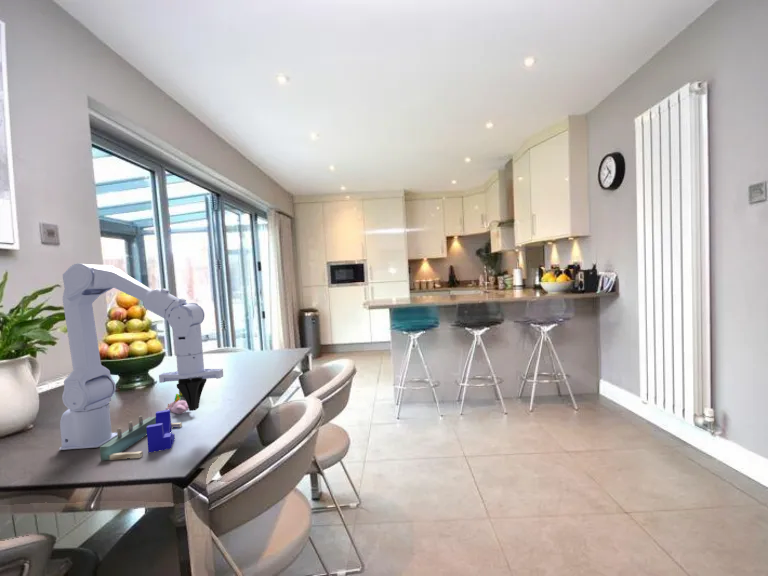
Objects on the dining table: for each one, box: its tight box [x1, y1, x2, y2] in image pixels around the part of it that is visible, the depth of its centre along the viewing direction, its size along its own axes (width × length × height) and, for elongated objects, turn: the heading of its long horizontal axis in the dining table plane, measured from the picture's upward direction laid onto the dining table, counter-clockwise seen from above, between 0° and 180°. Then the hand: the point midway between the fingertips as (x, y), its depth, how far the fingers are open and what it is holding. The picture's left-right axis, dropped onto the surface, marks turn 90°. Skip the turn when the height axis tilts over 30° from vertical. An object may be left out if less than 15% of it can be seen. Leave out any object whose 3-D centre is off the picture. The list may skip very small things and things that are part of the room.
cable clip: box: [146, 409, 176, 454], centre depth 92 cm, size 12×4×6 cm, turn 21°
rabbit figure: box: [165, 393, 189, 415], centre depth 113 cm, size 6×6×15 cm
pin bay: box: [99, 415, 183, 461], centre depth 92 cm, size 8×18×5 cm, turn 1°
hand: (194, 409), depth 92 cm, fingers closed
